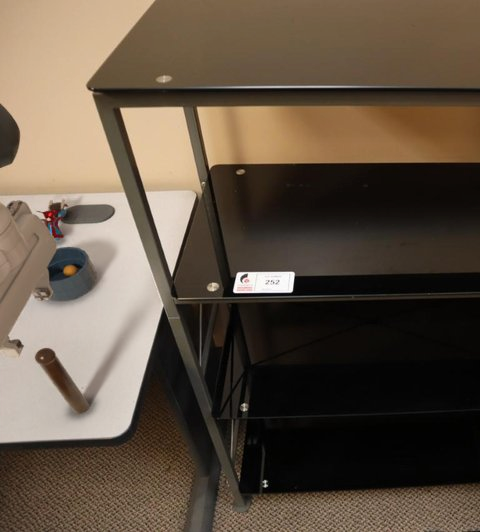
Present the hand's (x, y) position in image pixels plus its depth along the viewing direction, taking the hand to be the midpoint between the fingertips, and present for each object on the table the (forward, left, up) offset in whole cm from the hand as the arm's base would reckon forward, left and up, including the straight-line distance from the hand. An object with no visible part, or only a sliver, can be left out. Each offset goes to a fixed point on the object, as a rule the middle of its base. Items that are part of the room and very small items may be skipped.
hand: (31, 323), depth 68 cm
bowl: (-11, +26, -20) cm, 34 cm away
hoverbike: (-19, +42, -20) cm, 51 cm away
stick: (0, -1, -20) cm, 20 cm away
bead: (-11, +28, -18) cm, 35 cm away
